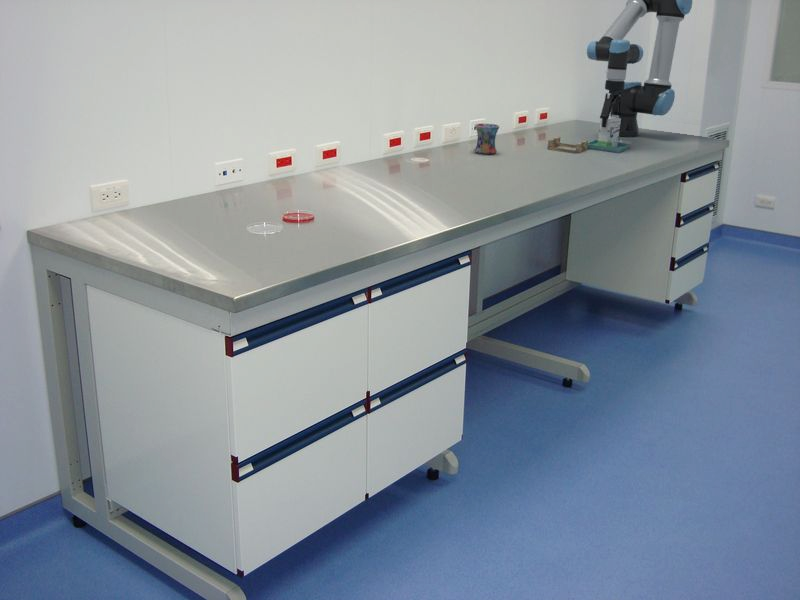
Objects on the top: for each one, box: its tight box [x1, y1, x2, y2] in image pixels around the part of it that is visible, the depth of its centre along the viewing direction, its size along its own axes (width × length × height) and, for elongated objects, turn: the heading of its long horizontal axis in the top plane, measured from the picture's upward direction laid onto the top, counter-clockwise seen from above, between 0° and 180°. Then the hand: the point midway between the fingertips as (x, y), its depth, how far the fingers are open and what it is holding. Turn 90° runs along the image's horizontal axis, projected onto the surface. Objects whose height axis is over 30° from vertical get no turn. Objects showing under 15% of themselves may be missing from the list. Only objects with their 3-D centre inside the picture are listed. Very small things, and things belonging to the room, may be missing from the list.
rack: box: [547, 136, 589, 154], centre depth 341 cm, size 13×13×4 cm
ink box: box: [597, 116, 621, 147], centre depth 346 cm, size 9×5×12 cm, turn 136°
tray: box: [586, 139, 631, 154], centre depth 348 cm, size 14×15×2 cm
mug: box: [474, 123, 500, 155], centre depth 326 cm, size 12×9×11 cm
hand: (608, 133), depth 346 cm, fingers open, 13 cm apart
